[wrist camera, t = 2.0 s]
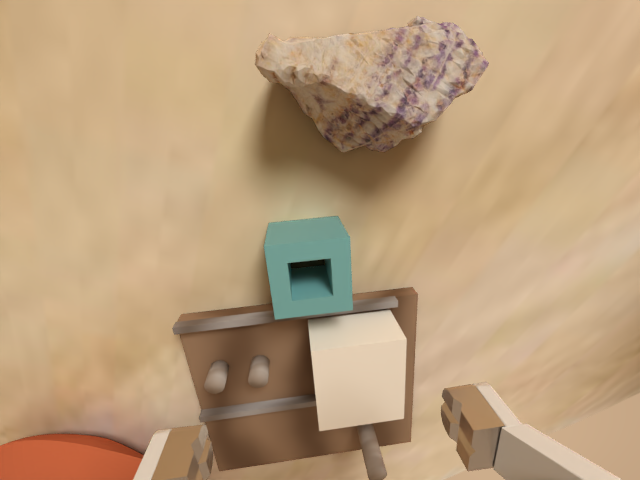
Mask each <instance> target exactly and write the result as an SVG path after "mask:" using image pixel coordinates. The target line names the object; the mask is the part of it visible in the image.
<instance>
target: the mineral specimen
mask: <svg viewBox="0 0 640 480" xmlns="http://www.w3.org/2000/svg"><path fill="white" fill-rule="evenodd" d="M488 64H489V62H488V61H486V59H485V58H484V57H483V52H481V51H480V49H479V47H478V46H477V45H476V43H475V42H474V41H473V39H468V37H467V36H466V35H465V34H464V32H463V31H462V30H461V29H460V28H459V27H458V26H457V25H455V24H454V23H444V22H443V23H441V24H439V23H435V22H432V21H429V20H427V19H426V18H424V17H419V16H417V17H416V18H414V19H413V20H411V21H410V22H408V26H406V27H401V28H397V29H396V28H390V29H387V30H383V31H371V32H364V33H358V34H352V33H349V34H342V35H335V36H330V37H327V38H320V37H314V38H311V37H290V38H289V39H287V40H285V41H283V40H281V39H279V38H277V37H276V36H274V35H272V34H270V33H269V35H268V37H267V39H266V40H265V41H263V42H261V44H260V46H259V48H258V50H257V52H256V62H255V65H256V67H257V68H258V70H259V71H260V73H261V74H262V75H263V76H264V77H265V78H267V79H268V80H269V82H273V83H281V84H282V85H284V86H285V87H286V88H287V89H289V90H290V91H291V93H292V95H293V96H294V97H295V99H296V100H297V102H298V104H299V106H300V107H301V109H302V111H303V112H304V113H305V114H306V115H307V116H309V117H310V118H312V119H313V120H314V122H315V125H316V127H317V129H318V130H319V131H320V133H321V134H322V136H323V137H324V138H325V139H326V140H328V141H329V142H331V143H332V144H333V145H334V146H335V147H337V148H338V149H339V150H340V151H341V152H346V151H349V150H352V149H355V148H357V147H362V146H366V147H367V148H368V149H370V150H377V151H381V152H385V151H387V150H389V149H391V148H393V147H395V146H396V145H398V144H399V142H400V141H401V140H403V139H407V138H414V137H416V136H417V135H419V134H420V133H421V132H422V128H423V126H425V125H427V124H429V123H431V122H433V121H435V120H436V119H437V118H438V117H439V116H440V115H441V114H442V113H443V112H444V110H445V109H446V108H447V107H448V106H449V105H450V104H451V102H452V101H453V100H454V99H455V98H457V97H459V96H460V95H463V94H466V93H468V92H469V91H471V90H472V89H473V88H474V86H475V84H476V83H477V81H478V80H479V78H480V77H481V75H482V74H483V72H484V71H485V69H486V68H487V66H488Z"/></svg>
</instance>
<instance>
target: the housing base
mask: <svg viewBox="0 0 640 480" xmlns="http://www.w3.org/2000/svg"><path fill="white" fill-rule="evenodd" d="M352 298H353V310H350V311H342V312H334V313H326V314H317V315H309V316H301V317H293V318H285V319H276V320H275V316H274V310H273V304H266V305H257V306H249V307H240V308H232V309H223V310H215V311H206V312H198V313H189V314H181V316H180V318H179V319H178V321H177V322H176V323H175V325H174V326H173V328H172V329H173V332H174V335H175V334H180V338H181V341H182V344H183V348H184V351H185V355H186V358H187V362H188V365H189V368H190V372H191V375H192V379H193V382H194V386H195V389H196V393H197V396H198V399H199V403H200V406H201V413H200V416H199V419H200V422H205V423H206V427H207V430H208V434H209V437H210V441H211V443H212V447H213V451H214V454H215V458H216V461H217V465H218V468H219V471H224V470H230V469H237V468H243V467H250V466H256V465H263V464H269V463H276V462H282V461H289V460H295V459H302V458H308V457H315V456H321V455H328V454H334V453H341V452H347V451H354V450H360V449H362V452H363V456H364V461H365V465H366V469H367V474H368V478H369V480H383V479H384V478H385V477H386V476H387V472H386V469H385V465H384V462H383V458H382V455H381V451H380V448H379V446H386V445H392V444H399V443H405V442H411V426H412V405H413V384H414V363H415V342H416V321H417V300H418V294H417V293H416V291H415V290H414V289H413V287H409V288H401V289H393V290H384V291H376V292H367V293H359V294H352ZM383 310H391V312H392V314H393V316H394V318H395V319H396V321H397V323H398V325H399V326H400V328H401V330H402V332H403V333H404V335H405V337H406V339H407V346H406V375H405V404H404V419H399V420H392V421H385V422H378V423H372V424H365V425H358V426H352V427H345V428H338V429H331V430H325V431H319V423H318V414H317V405H316V395H315V386H314V376H313V367H312V357H311V348H310V338H309V328H308V320H310V319H318V318H326V317H334V316H342V315H351V314H359V313H367V312H375V311H383Z"/></svg>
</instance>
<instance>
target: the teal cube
mask: <svg viewBox="0 0 640 480" xmlns="http://www.w3.org/2000/svg"><path fill="white" fill-rule="evenodd" d="M264 250H265V257H266V263H267V270H268V277H269V283H270V290H271V296H272V303H273V310H274V316H275V320H276V319H285V318H293V317H301V316H309V315H317V314H326V313H334V312H342V311H350V310H353V298H352V274H351V250H350V236H349V235H348V233H347V231H346V230H345V228H344V226H343V224H342V223H341V221H340V219H339V217H338V216H333V217H323V218H313V219H303V220H293V221H283V222H273V223H269V225H268V229H267V234H266V239H265V244H264ZM320 259H324V260H325V265H320V266H311V267H302V268H293V269H291V263H293V262H302V261H311V260H320Z"/></svg>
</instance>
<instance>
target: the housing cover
mask: <svg viewBox="0 0 640 480" xmlns="http://www.w3.org/2000/svg"><path fill="white" fill-rule="evenodd" d="M308 328H309V338H310V348H311V357H312V367H313V376H314V386H315V395H316V405H317V414H318V423H319V431H325V430H331V429H338V428H345V427H352V426H358V425H365V424H372V423H378V422H385V421H392V420H399V419H404V404H405V375H406V346H407V339H406V337H405V335H404V333H403V332H402V330H401V328H400V326H399V325H398V323H397V321H396V319H395V318H394V316H393V314H392V312H391V310H383V311H375V312H367V313H359V314H351V315H342V316H334V317H326V318H318V319H310V320H308Z"/></svg>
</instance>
